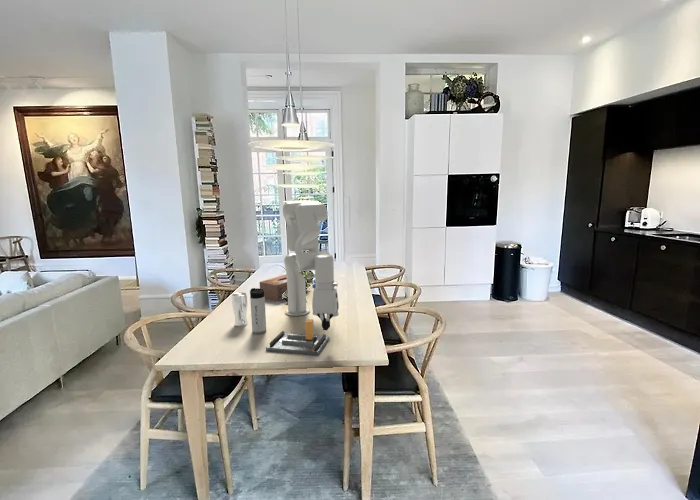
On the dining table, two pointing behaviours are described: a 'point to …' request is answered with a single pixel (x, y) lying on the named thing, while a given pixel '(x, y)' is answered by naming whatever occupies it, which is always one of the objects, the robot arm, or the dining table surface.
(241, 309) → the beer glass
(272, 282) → the tissue box cover
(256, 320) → the travel mug
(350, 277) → the dining table surface
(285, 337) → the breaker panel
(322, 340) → the tray
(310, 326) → the lever
